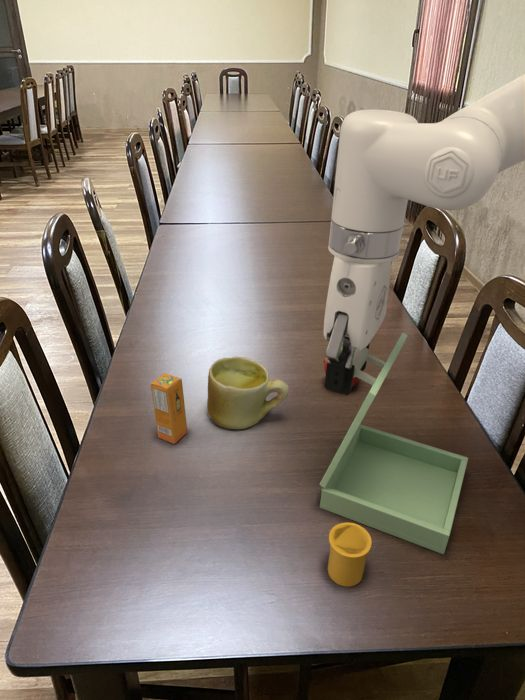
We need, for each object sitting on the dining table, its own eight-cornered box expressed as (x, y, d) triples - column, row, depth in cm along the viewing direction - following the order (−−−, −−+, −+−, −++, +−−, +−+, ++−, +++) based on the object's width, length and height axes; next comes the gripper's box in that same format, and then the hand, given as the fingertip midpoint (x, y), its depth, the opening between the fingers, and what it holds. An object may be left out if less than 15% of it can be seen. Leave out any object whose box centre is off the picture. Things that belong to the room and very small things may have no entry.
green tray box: (463, 475, 74) (468, 457, 73) (443, 554, 63) (449, 536, 61) (354, 440, 80) (357, 423, 78) (319, 507, 69) (321, 489, 67)
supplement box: (170, 425, 82) (165, 370, 77) (188, 433, 81) (184, 378, 75) (155, 437, 80) (149, 382, 74) (173, 445, 78) (169, 389, 73)
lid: (408, 335, 68) (374, 318, 69) (375, 395, 57) (335, 373, 58) (360, 422, 78) (330, 406, 79) (324, 488, 67) (291, 468, 68)
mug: (184, 417, 81) (203, 358, 78) (214, 399, 90) (232, 345, 87) (255, 454, 78) (278, 394, 75) (278, 431, 87) (299, 377, 84)
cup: (374, 576, 60) (380, 544, 58) (343, 596, 58) (348, 564, 55) (347, 547, 64) (351, 516, 61) (316, 565, 61) (320, 533, 59)
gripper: (376, 273, 49) (352, 427, 59) (417, 221, 62) (392, 354, 72) (301, 257, 52) (289, 406, 61) (355, 211, 65) (339, 340, 75)
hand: (345, 377), depth 66 cm, fingers closed on lid, 5 cm apart
